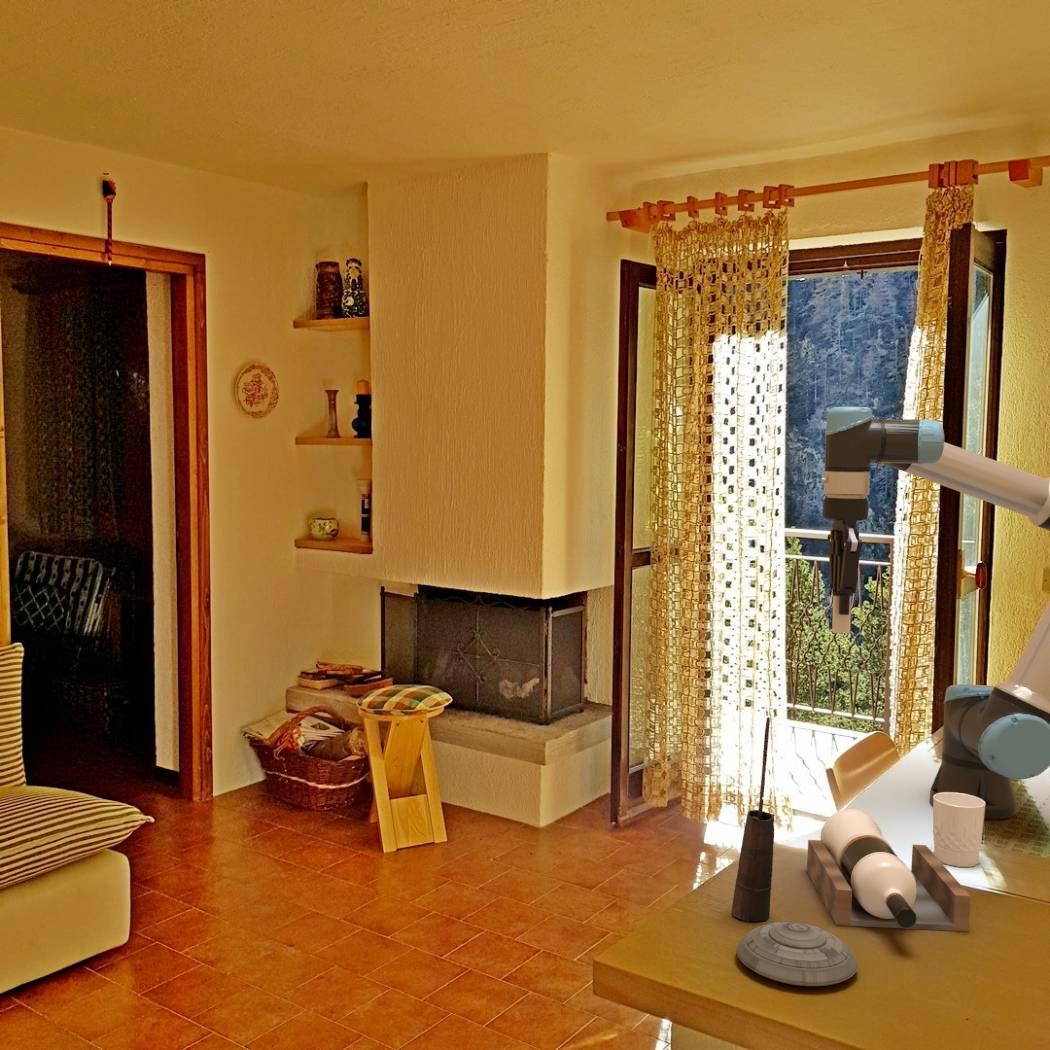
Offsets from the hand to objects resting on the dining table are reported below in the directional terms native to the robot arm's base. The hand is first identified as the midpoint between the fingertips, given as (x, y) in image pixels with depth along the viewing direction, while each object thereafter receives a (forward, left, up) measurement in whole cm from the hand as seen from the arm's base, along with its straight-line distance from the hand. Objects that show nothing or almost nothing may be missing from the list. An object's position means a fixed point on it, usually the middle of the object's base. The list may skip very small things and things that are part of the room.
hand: (841, 632), depth 194 cm
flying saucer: (+48, +32, -35) cm, 68 cm away
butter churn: (+42, +19, -35) cm, 58 cm away
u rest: (+21, +25, -34) cm, 47 cm away
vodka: (+15, +14, -29) cm, 36 cm away
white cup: (-4, +22, -35) cm, 41 cm away
